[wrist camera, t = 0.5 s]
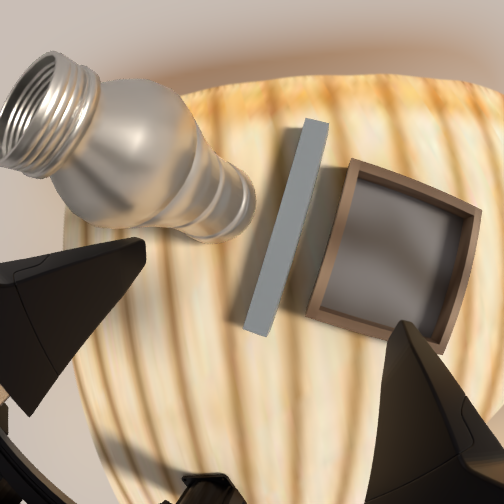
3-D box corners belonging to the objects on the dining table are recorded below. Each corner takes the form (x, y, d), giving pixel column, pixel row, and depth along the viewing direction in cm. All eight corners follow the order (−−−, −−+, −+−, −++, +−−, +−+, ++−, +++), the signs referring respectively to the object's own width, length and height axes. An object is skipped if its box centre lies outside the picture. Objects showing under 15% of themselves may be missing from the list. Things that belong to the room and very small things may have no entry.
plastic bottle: (178, 204, 25) (-26, 135, 6) (233, 157, 24) (81, -4, 5) (216, 260, 24) (-15, 269, 5) (277, 212, 23) (138, 52, 4)
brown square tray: (432, 346, 20) (442, 355, 18) (306, 310, 23) (305, 316, 20) (468, 214, 19) (482, 210, 17) (347, 167, 22) (351, 157, 20)
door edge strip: (270, 330, 23) (266, 337, 21) (248, 323, 24) (242, 329, 22) (328, 133, 22) (329, 123, 20) (306, 127, 23) (305, 117, 21)
